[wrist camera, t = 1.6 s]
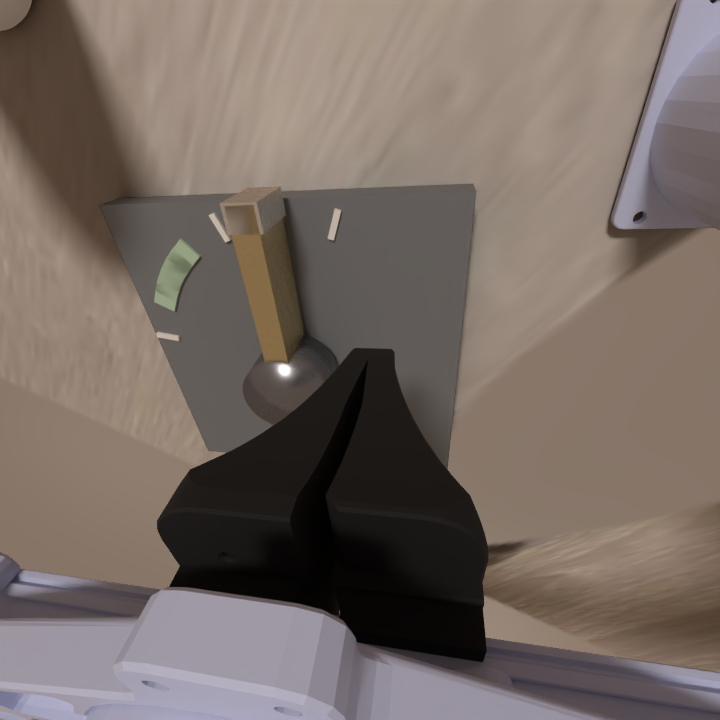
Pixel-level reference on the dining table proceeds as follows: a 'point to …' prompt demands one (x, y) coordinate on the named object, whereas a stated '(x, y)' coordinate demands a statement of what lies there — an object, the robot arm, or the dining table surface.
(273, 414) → the brown bar with cylinder
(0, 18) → the can
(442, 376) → the dial board
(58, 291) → the dining table surface
